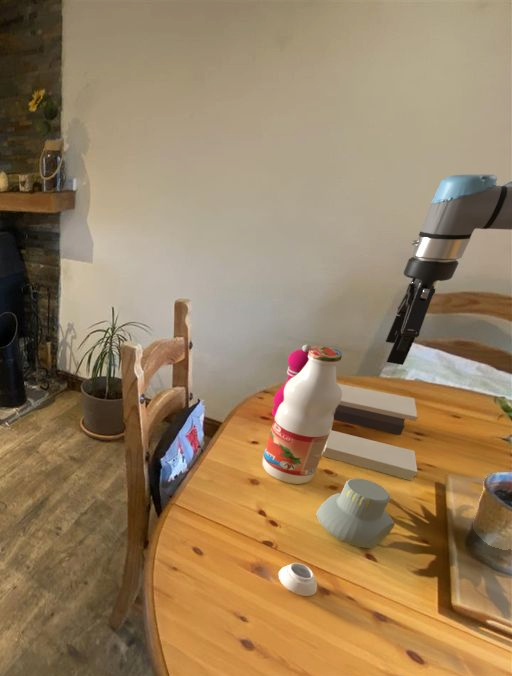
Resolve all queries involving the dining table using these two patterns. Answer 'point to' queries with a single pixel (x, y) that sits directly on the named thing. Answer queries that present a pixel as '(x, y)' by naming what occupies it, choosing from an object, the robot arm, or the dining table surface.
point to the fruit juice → (304, 419)
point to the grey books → (369, 419)
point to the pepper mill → (292, 372)
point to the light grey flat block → (371, 455)
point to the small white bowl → (298, 579)
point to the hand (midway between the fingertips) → (393, 352)
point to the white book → (378, 402)
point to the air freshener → (357, 514)
